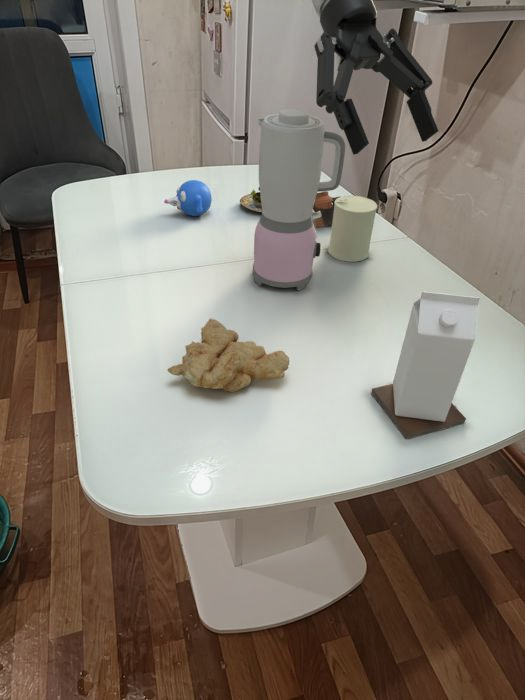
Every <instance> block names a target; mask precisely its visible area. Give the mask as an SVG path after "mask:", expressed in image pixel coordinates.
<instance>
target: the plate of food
mask: <svg viewBox="0 0 525 700" xmlns="http://www.w3.org/2000/svg"><path fill="white" fill-rule="evenodd" d="M257 189H258V191H257V192H256V190H255V189H252V191H251V192H250V193H249V194H245V195H243V196H242V197H241V198H240V199H239V202H240V204H241V206H243V207H244V208H246V209H248V210H250V211H253V212H258V213H262V203H261V195H260V187H259V186H258V188H257Z"/></svg>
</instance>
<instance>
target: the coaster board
mask: <svg viewBox="0 0 525 700" xmlns="http://www.w3.org/2000/svg"><path fill="white" fill-rule="evenodd" d="M370 393H371V395H372V396H373V398H374V399H375V400H376V401H377V403H378V405H379V406H380V407H381V408H382V410H383V411H384V413H386V415H387V416H388V417H389V419H390V420H391V421H392V423H393V424H394V426H395V427H396V428H397V429H398V431H399V432H400V433H401V435H403V437H404V438H405V440H408V439H412V438H415V437H419V436H424V435H426V434H430V433H434V432H438V431H441V430H445V429H449V428H452V427H456V426H459V425H463V424H465V423H466V420H467V417H466V416H465V415H464V414H463V413H462V412H461V411H460V410H459V409H458V408H457V407H456V406H455V405H454V403H453V402H452V403H451V406H450V409H449V411H448V414H447V417H446V420H445V421H444V422H442V421H434V420H426V419H419V418H411V417H404V416H397V415H395V407H394V393H393V383H389V384H386V385H381V386H376V387H372V388H371V392H370Z"/></svg>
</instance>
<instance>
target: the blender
mask: <svg viewBox="0 0 525 700" xmlns="http://www.w3.org/2000/svg"><path fill="white" fill-rule="evenodd" d="M256 122H257V123H258V125H259V127H260V137H259V148H258V149H259V150H258V185H259V186H258V188H259V187H260V191H259V192H260V195H261V203H262V212H261V215H260V218H259V220H258V222H257V224H256V226H255V230H254V237H253V263H252V274H253V276H254V282H255V283H256V284H257V285H258V286H263V284H264V285H267V286H270V287H274V288H284V289H287V288H295V289H296V290H297V291H301V290H304V289H305V288H306V286H307V283H308V282H309V281H310V280H311V278H312V276H313V266H314V259H315V258H316V257H317V258H318V257H320V256H321V245H322V244H321V243H320V242H317V240H316V239H317V237H318V235H317V230H316V227H315V224H314V221H313V218H312V214H313V211H314V210H313V206H314V203H315V199H316V195H317V193H320V192H324V191H328V192H330V191H334V190H336V189H337V188H339V186H340V184H341V181H342V174H343V170H344V169H343V168H344V163H345V154H346V142H345V139H344V138H343V137H342V136H341V135H340V134H339V133H337V132H332V131H328V130H327V131H325V129H326V128H325V127H326V125H325V122H324V121H323V120H322V119H320V118H319V117H316V116H313V115H310V113H309V111H307V110H305V109H300V108H284V109H280V110H279V111H278V113H273V114H269V115H266V116H265V117H264V118H258V119H256ZM325 143H329V144H333V145H334V146H335V148H334V149H335V150H334V159H333V167H332V174H331V179H330V180H327V181H321V177H322V168H323V157H324V149H325V148H324V147H325V145H324V144H325Z"/></svg>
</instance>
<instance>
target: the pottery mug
mask: <svg viewBox="0 0 525 700" xmlns="http://www.w3.org/2000/svg"><path fill="white" fill-rule="evenodd" d="M339 197H340V196H336V197H335V196H334V197H332V196H330V195H329V191H321V192H317V195H316V199H315V203H314V206H313V210H312V211H313V212H314V213H315V214H316V213H318V212H320V214H321V215H320V216H318V217H316V218H313V223H314V227H315V229H316V228H322V227H326V226H332V222H333V214H334V202H335V200H336V199H337V198H339Z"/></svg>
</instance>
